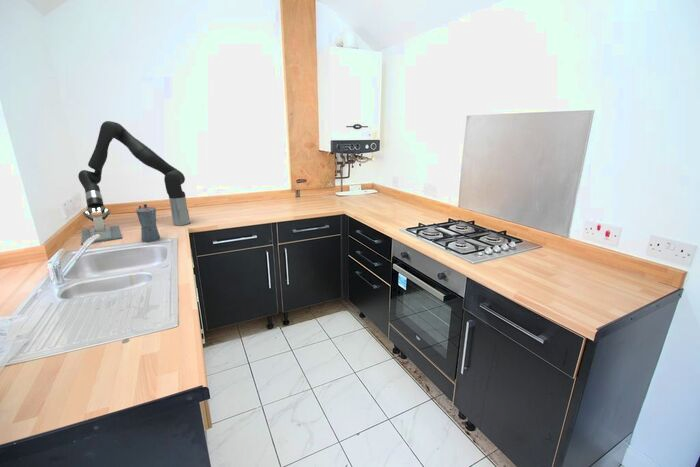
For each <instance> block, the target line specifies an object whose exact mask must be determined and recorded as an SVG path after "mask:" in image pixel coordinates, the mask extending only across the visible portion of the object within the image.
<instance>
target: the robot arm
mask: <svg viewBox="0 0 700 467" xmlns="http://www.w3.org/2000/svg"><path fill="white" fill-rule="evenodd" d="M99 128H100V129H99V133H98V138H97V140H96V144H95V147H94V149H93V151H92V154H91V156H90V159H89V161H88V163H87V166H88V167H89V168H90V169H92V170H93V171H91V170H85V169H81V170H80V171H79V172H78V176H77V177H78V180H79V182H80V184H81V186H82V188H83V189H84V192H85V200H86V205H87V209H86V211H84V212H82V214H83V216H84V217H85V218H87V219H89V220H90V221H93V217H92V216H91V213H92V212H97V211H101V212H102V219H103V220H106V219H107V217H108V216H109V215H110V213H111V210H110V209H109V208H108V209H107V208H106V207H105V205H104V201H103V195H102V193H101V189H100V186H99V184H100V182H101V181H102V174H103V168H104V166H105V163H106V162H107V158H108V152H109V146H110V144H111V142H112V141H113V139H115V140H116V141H118V142H120V143H121V144H123V145H124V146H125V147H126V148H127V149H128V150H129V152H130V153H131V155H132V156H134V157H135V159H137V160H138V161H140V162H141V163H142V164H144V165H145V166H147V167H149V168H152V169H153V170H156V171H158V172H160V173H161V174H162V175H164V179H163V180H164V186H165V190H166V194H167V195H168V200H169V206H170V211H171V212H170V213H171V218H172V224H173V226H180V227H181V226H186V225H189V223H190V224H191V220H190V213H189V209H188V203H187V199H186V193H185V192H184V191H183V188H182V185H183V184H184V183H185V181H186V178H185V175H184V173H183V172H182V171H180V170H178V169H177V168H175V167H174V166H172V165H171V164H169V163H168V162H167V161H165V160H164V159H163V158H162V157H160V155H159V154H157V153H156V152H155V151H154V150H152V149H151V148H150V147H148V146H147V145H145V144H144V143H143V142H141V140H139V139H137V138H136V137H135V136H133V134H131V133H130V132H129V131H128V130H127V129H126V128H125V127H124V126H123V125H122V124H120V123H118V122H116V121H110V120H106V121H104V122H102V124H101V125H100V127H99ZM93 222H94V221H93Z"/></svg>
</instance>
